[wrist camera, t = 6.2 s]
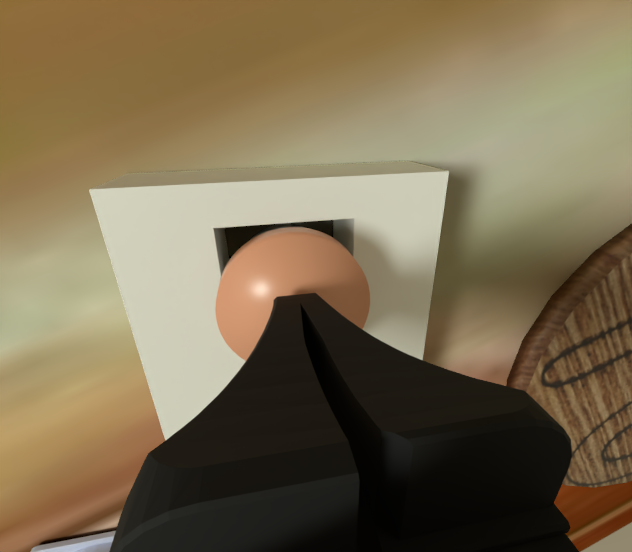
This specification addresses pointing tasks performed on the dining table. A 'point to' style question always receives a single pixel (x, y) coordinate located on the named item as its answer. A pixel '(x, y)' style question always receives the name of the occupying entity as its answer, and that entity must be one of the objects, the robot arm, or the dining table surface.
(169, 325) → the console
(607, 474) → the trivet
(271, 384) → the robot arm
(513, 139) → the dining table surface
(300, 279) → the button
